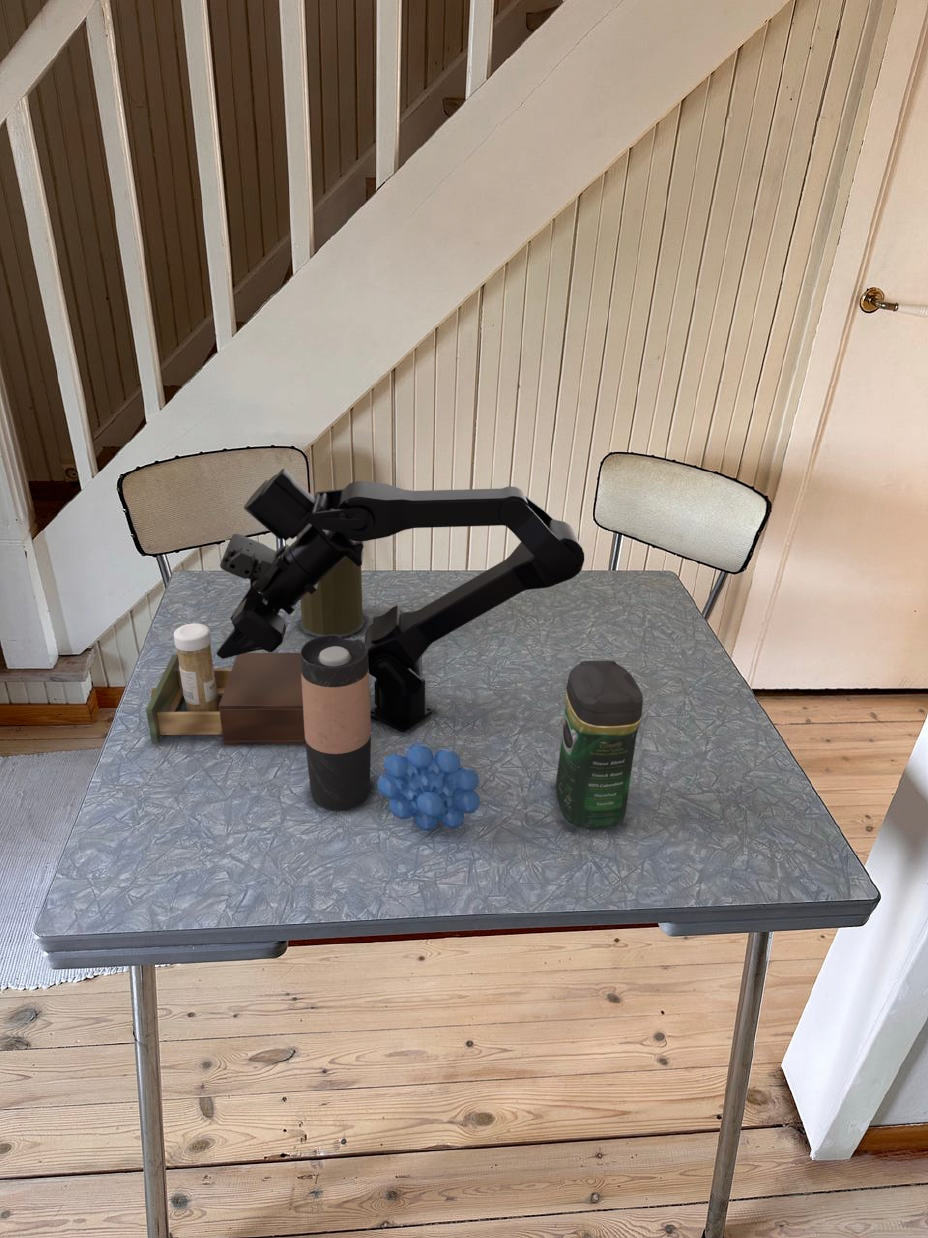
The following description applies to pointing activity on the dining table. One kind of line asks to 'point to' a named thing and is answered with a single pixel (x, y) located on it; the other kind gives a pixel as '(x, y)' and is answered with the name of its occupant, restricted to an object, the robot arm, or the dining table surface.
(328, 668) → the travel mug
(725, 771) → the dining table surface
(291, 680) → the drawer unit
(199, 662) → the sprinkles bottle
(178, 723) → the drawer
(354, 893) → the dining table surface
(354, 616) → the canister
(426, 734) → the dining table surface
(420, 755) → the blue knobby toy
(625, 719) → the coffee jar
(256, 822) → the dining table surface
